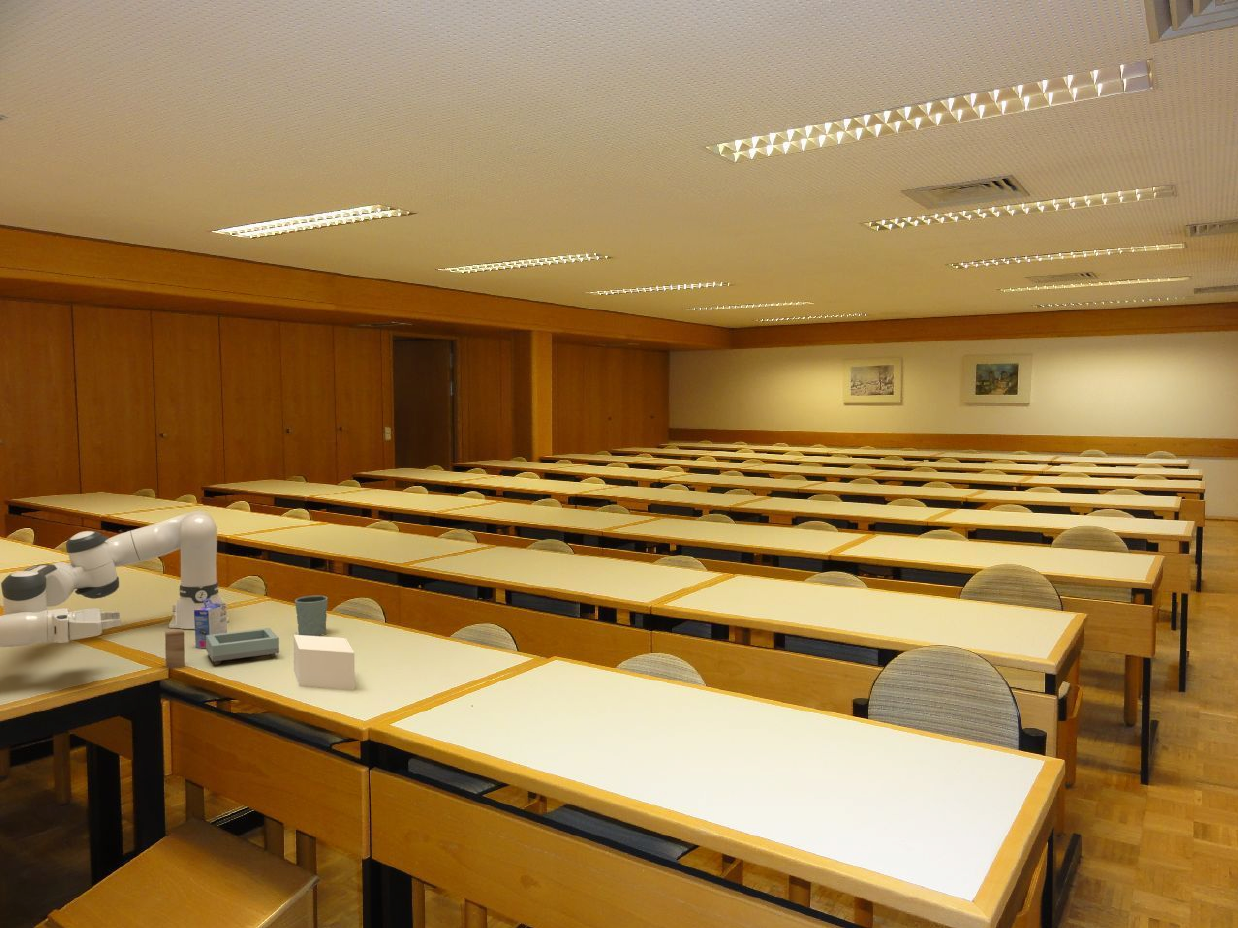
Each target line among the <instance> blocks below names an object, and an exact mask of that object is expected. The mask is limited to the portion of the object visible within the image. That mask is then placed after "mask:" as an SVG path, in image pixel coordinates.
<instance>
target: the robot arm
mask: <svg viewBox="0 0 1238 928" xmlns="http://www.w3.org/2000/svg"><path fill="white" fill-rule="evenodd" d="M217 548H218V527H217V523H216V522H215V519H214V518H213V517H212V515H210V514H209V513H208V512H206V511H204V510H194V511H190V512H187V513H183V514H181V515H178V516H174V517H172V518H168V519H166V520H165V519H164V520H162V521H160V522H155V523H153V524H149V525H146V526H143V527H139V528H136V529H131V530H127V531H126V532H121V533H119V534H116V535H114V536H112V537H109V536H108V535H104V534H102V533H101V532H98V531H95V530H86V531H79V532H78V533H76V534H74V535H72V536H71V537H69V538H68V539H67V541H66V542H65V550H66V553H67V554H68V559H69V562H64V561H59V562H57V561H56V562H54V563H51V564H50V563H41V564H35V565H32V566H30V567H27V568H26V569H23V570H22V571H21V570H20V571H17V572H13V573H10V574H9V575H7V576H6V577H5V578H4V579H3V580H2V581H1V583H0V586H1V592H2V601H3V602H2V603H3V615H0V648H13V647H24V646H30V645H33V644H39V643H44V644H50V643H57V644H67V643H70V640H71V641H72V640H73V641H75V640H81V639H87V638H91V637H92V638H93V637H96V636H99V635H102V634H103V633H102V632H103V630H107V629H111V628H115V627H121V625H122V620H121V618H120V617H121V613H120V611H102V612H101V608H97V607H93V608H86V609H79V610H72V611H69V608H68V607H63V608H61V607H60V608H54V609H53V608H52V609H47V608H51V607H56V606H60V605H61V604H63V603H65V602H66V601H67V600H68V599H69V598H70V597H71V595H72V594H73V592H74V593H75V594H76V595H80V596H82V597H85V598H88V599H93V600H94V599H101V598H106V597H108V596H110V595H112V594H114V593H115V592H116V591H118V589H119V588H120V579H119V576H118V572H117V569H116V568H120V567H125V566H131V565H135V564H139V563H141V562H145V561H146V562H147V561H149V560H153V559H155V558H159V557H162V556H166V555H168V554H171V553H173V552H175V551H178V550H180V585H179V598H178V600H177V601H176V602H175V604H174V605H172V613H174V614H173V616H172V619H171V620H170V622H169V624H168V628H169V629H183V630H184V629H185V630H195V622H194V610H196V609H199V608H201V607H203V606H205V605H204V603H203V601H202V600H204V599H207V598H210V600H211V601H212V603H224V598H222V597H221V596H220V594H218V593H219V582H218V580H217V579H218V578H217V576H218V575H217V559H218V558H217V554H218V553H217V552H218V551H217V550H218V549H217ZM205 603H206V604H207V603H210V601H206V602H205ZM228 622H230V617H228V616H227V623H228Z"/></svg>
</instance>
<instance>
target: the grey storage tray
mask: <svg viewBox="0 0 1238 928" xmlns="http://www.w3.org/2000/svg"><path fill="white" fill-rule="evenodd" d="M279 645H280V638H279V637H278V635H277V634H276V633H275V632H274V631H273V630H272V629H271V627H266V628H257V629H256V628H255V629H246V630H240V631H239V630H238V631H232V632H231V631H230V632H227V633H221V634H213V635H206V648H205V650H206V652H207V655H208V656H209V657H210V659H211V661H212V662H214V664H215V665H216V666H219V665H221V663H222V661H227V660H228V661H229V660H236V659H242V658H250V657H258V656H264V655H269V657H270V658H274V657H275V656H276V654H279V653H280V648H279V647H280V646H279Z"/></svg>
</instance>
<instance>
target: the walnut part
mask: <svg viewBox="0 0 1238 928" xmlns="http://www.w3.org/2000/svg"><path fill="white" fill-rule="evenodd" d="M164 636H165V637H164V638H165V639H164V641H165V643H164V644H165V646H164V647H165V653H164V654H165V667H166V666H167V667H166V669H167V668H170V669H171V670H172V669H178V668H184V667H185V668H186V666H185V665H186V664H185V663H186V661H185V660H186V657H185V652H186V651H185V646H186V645H185V630H184V629H181V628H179V629H173V630H172V629H171V630H165V631H164ZM170 669H169V670H170Z"/></svg>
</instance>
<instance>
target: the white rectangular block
mask: <svg viewBox="0 0 1238 928" xmlns="http://www.w3.org/2000/svg"><path fill="white" fill-rule="evenodd" d="M355 669H356V668H355V651H354V650H353V648H352V647H351V645H350V643H349V642H348V640H347V638H346V637H344V638H343V637H336V636H335V637H333V636H332V637H330V636H306V635H299V634H293V671H294V673H295V676H296V680H297V684H298V686H299V687H300V686H302V687H312V688H324V689H326V688H327V689H336V690H337V689H338V690H350V691H355V687H356V686H355V680H356V678H355Z"/></svg>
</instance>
